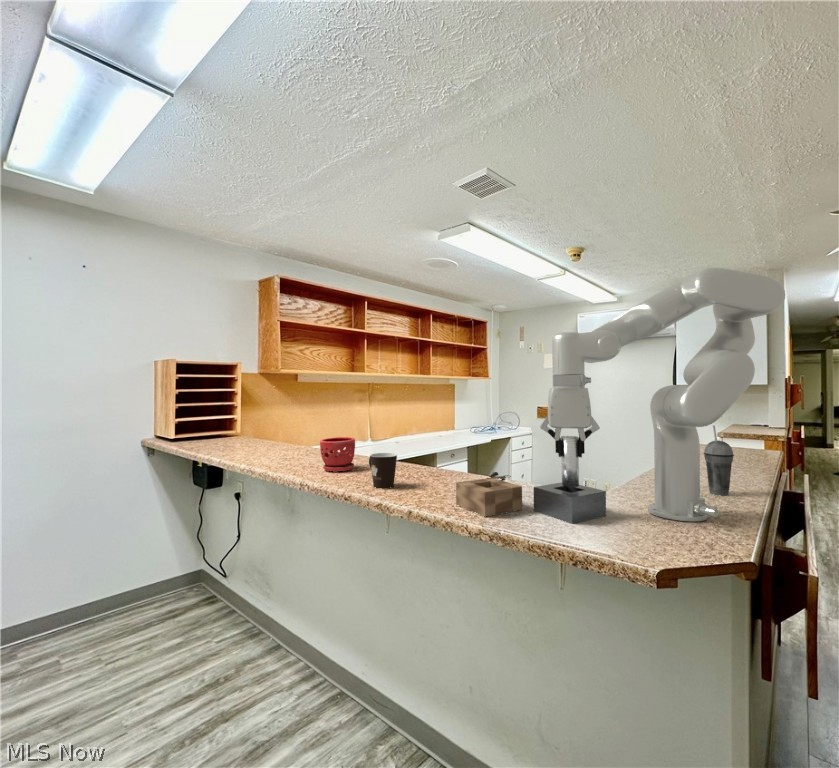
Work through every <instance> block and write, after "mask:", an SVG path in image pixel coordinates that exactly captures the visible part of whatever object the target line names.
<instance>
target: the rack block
mask: <svg viewBox="0 0 839 768" xmlns="http://www.w3.org/2000/svg"><path fill="white" fill-rule="evenodd" d="M455 485H456V486H455V489H456V490H455V491H456V492H455V493H456V495H455V496H456V497H455V501H456V506H457V505H459V506H461V507H460V508H462V507H463V508H462V509H464V508H466V509H468V510H467V511H469V510H471V511H473V512H472V513H474V512H476V513H478V514H480V515H479V516H481V515H482V516H481V517H483V516H485V517H484V518H487V517H486V516H489V517H493V516H492V515H494V516H497V514H499V515H502V514H501V513H504V514H507V513H506V512H509V513H512V512H511V511H514V512H518V511H517V510H519V511H523V485H520V484H519V485H518V484H515V483H511V482H509V481H504V480H503V481H501V480H499V478H488V477H486V478H481V479H474V480H473V479H472V480H466V481H465V480H464V481H458V482H455ZM459 506H458V507H459ZM466 509H465V510H466ZM471 511H470V512H471ZM476 513H475V514H476ZM478 514H477V515H478Z"/></svg>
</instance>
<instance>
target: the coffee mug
mask: <svg viewBox="0 0 839 768" xmlns="http://www.w3.org/2000/svg"><path fill="white" fill-rule="evenodd" d="M397 457H398V454H397V453H392V452H375V453H371V454H370V455H369V458H368V465H369V467H370V469H371V478H372V483H373V484H372V486H373V488H374V487H376V488H375V489H378V488H388V489H391V488H390V487H392V488H393V486H395V478H396V477H395V475H396V470H397V469H396V467H397V459H398V458H397Z"/></svg>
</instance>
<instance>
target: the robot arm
mask: <svg viewBox="0 0 839 768" xmlns="http://www.w3.org/2000/svg"><path fill="white" fill-rule="evenodd" d="M785 299H786V290H785V287H784V286H783V285H782V283H781V282H779V280H777V279H776V278H772V277H770V276H766V275H761V274H756V273H751V272H745V271H739V270H736V269H730V268H729V269H728V268H723V267H721V268H720V267H707V268H704V269H701V270H699V271H697V272H695V273H693V274H690V275H688V276H685V277H683V278H681V279H680V280H678V281H676V282H674V283H673V284H671V285H669V286H667V287H666V288H664V289H662V290H661V291H659V292H657V293H656V294H654V295H652V296H650V297H649V298H646V299H645V300H643V301H641V302H639V303H638V304H636V305H634V306H633V307H631V308H630V309H628V310H626V311H625V312H623V313H621V314H620V315H618V316H616V317H615V318H613V319H612V320H609V321H608V322H606V323H604V324H603V325H601V326H599V327H598V328H595V329H593V330H592V331H587V332H575V331H574V332H573V331H567V332H560V333H555V334H554V335H553V336H552V339H551V357H552V359H551V361H552V365H551V366H552V388H549V390H548V397H547V416H546V417H545V418H544V420H543V421H542V423H541V424H540V429H541V430H542V431H544V432H545V433H547V434H548V435H550V437H552V438H553V439H554V440H555V454H558V455H557V456H558V457H559V458H561V456H562V441H561V433H562V429H577V433H578V457H579V458H583V455H584V454H585V451H586V450H585V441H586V439H588V438H589V437H590V436H591V435H592V434H594V433H596V432H597V431H599V430H600V428H601V427H600V426H599V424H598V423H597V421H596V419H594V417H593V416H592V406H591V399H590V392H589V389H588V387H586V385H587V384H591V383H592V378H591V377H589V376H588V377H587V376H586V374H585V363H588V364H595V363H601V362H606V361H610V360H612V359H614V358H615V357H616V356H618V354H619V353H620V351H621V349H622V347H624V346H626V345H629V344H631V343H633V342H637V341H640V340H642V339H646V338H648V337H651V336H653V335H655V334H658V333H660V332H662V331H664V330H665V329H667V328H669V327H671V326H672V325H674V324H676V323H677V322H679V321H681V320H683V319H685V318H687V317H688V316H690V315H692V314H693V313H695V312H697V311H699V310H701V309H703V308H706V307H710V306H712V313H713V317H714V320H715V324H716V327H715V332H714V333H713V334H712V336H710V339H708V340H707V342H706V343H705V344H704V346H702V347H701V348H700V350H699V351H698V352H697V353H696V354H695V355H694V356H693V357H692V358H691V359H690V360H689V361H688V362H687V364H686V365H685V367H684V370H683V372H682V373H683V375H682V376H683V380H684V382H685V383H686V384H672V385H666V386H663V387H662V388H659V389H658V390H657V391H656V392H655V393H654V394H653V395H652V397H651V400H650V403H649V405H650V406H649V407H650V416H651V421H652V426H653V428H652V429H653V441H654V449H653V451H654V454H653V456H654V502H651V503H649V504H648V505H647V511H648V513H649V514H651V515H654V516H656V517H660V518H663V519H667V520H673V521H678V522H679V521H681V522H703V521H706V520H708V519H709V516H710V517H714V518H717V517H718V515H719V510H718V507H717V506H713V505H707V503H706V499H705V498H703V497H701V467H700V466H701V465H700V464H701V462H700V461H701V459H700V458H701V457H700V456H701V455H700V454H701V453H700V452H701V450H700V438H699V437H700V435H699V432H698V429H697V428H704V427H707V426H709V425H710V426H711V425H712V424H715V422H717V421H718V420H719V419H721V417H722V416H723V415H725V413H726V412H727V411H729V409H730V408H731V407H732V406H733V404H735V403H736V401H737V400H738V399H739V398H740V397H741V396H742V395H743V394H744V393H745V392H746V391H747V389H748V388H749V387H750V386H751V384H752V382H753V380H754V376H755V372H756V371H755V369H756V368H755V367H756V366H755V363H754V361H753V359H752V358H751V356H750V355H749V353H750V352H751V350H752V349H753V348H754V345H755V341H756V336H755V329H754V326H753V322H752V319H753V318H758V317H762V316H763V317H764V316H767V315H769V314H772V313H774V312H776V311H777V310H779V309H780V308H781V307H782V306H783V304H784V303H785ZM548 425H549V426H548ZM550 427H551V428H550ZM552 428H553V429H554V430H553V429H552ZM585 429H586V430H585Z"/></svg>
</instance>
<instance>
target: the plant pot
mask: <svg viewBox="0 0 839 768" xmlns="http://www.w3.org/2000/svg"><path fill="white" fill-rule="evenodd" d="M319 450H320V455H321V459H322V462H323V463H324V465H323V467H322V468H323V469H324V471H326V472H329V471H333V472H332V473H338V472H337V471H343V472H347V470H348V471H350V470H352V469H353V468H354V466H355V464H354V463H353V460H354V457H355V450H356V439H355V437H350V436H343V437H342V436H339V437H338V436H337V437H330V438H329V437H327V438H323V439H320V441H319ZM338 451H339V452H338Z"/></svg>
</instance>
